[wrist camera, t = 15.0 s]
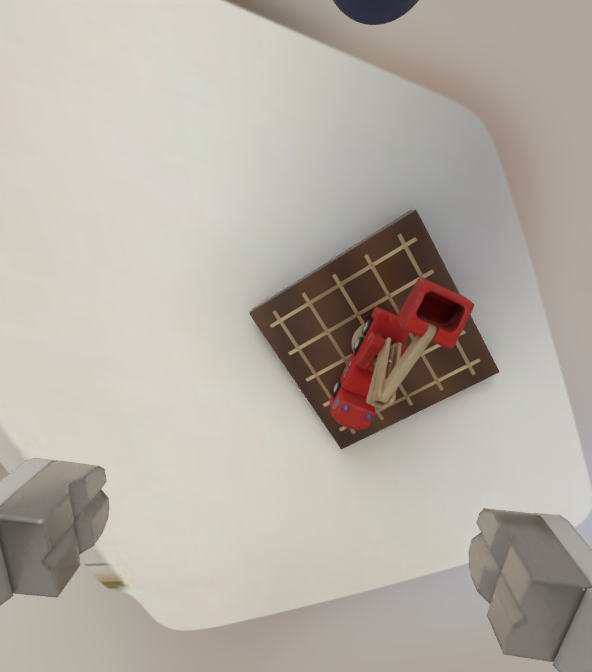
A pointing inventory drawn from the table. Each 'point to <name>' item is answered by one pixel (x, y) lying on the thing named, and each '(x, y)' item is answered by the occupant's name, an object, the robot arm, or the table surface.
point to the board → (351, 315)
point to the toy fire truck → (395, 350)
